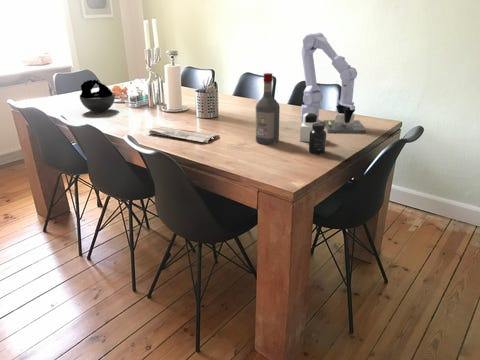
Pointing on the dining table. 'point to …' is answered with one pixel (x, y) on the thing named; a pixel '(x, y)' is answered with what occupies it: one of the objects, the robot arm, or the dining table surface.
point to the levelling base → (344, 127)
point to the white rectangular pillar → (343, 118)
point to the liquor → (267, 115)
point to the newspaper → (182, 134)
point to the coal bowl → (96, 96)
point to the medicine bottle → (307, 126)
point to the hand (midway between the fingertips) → (344, 121)
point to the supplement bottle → (317, 139)
